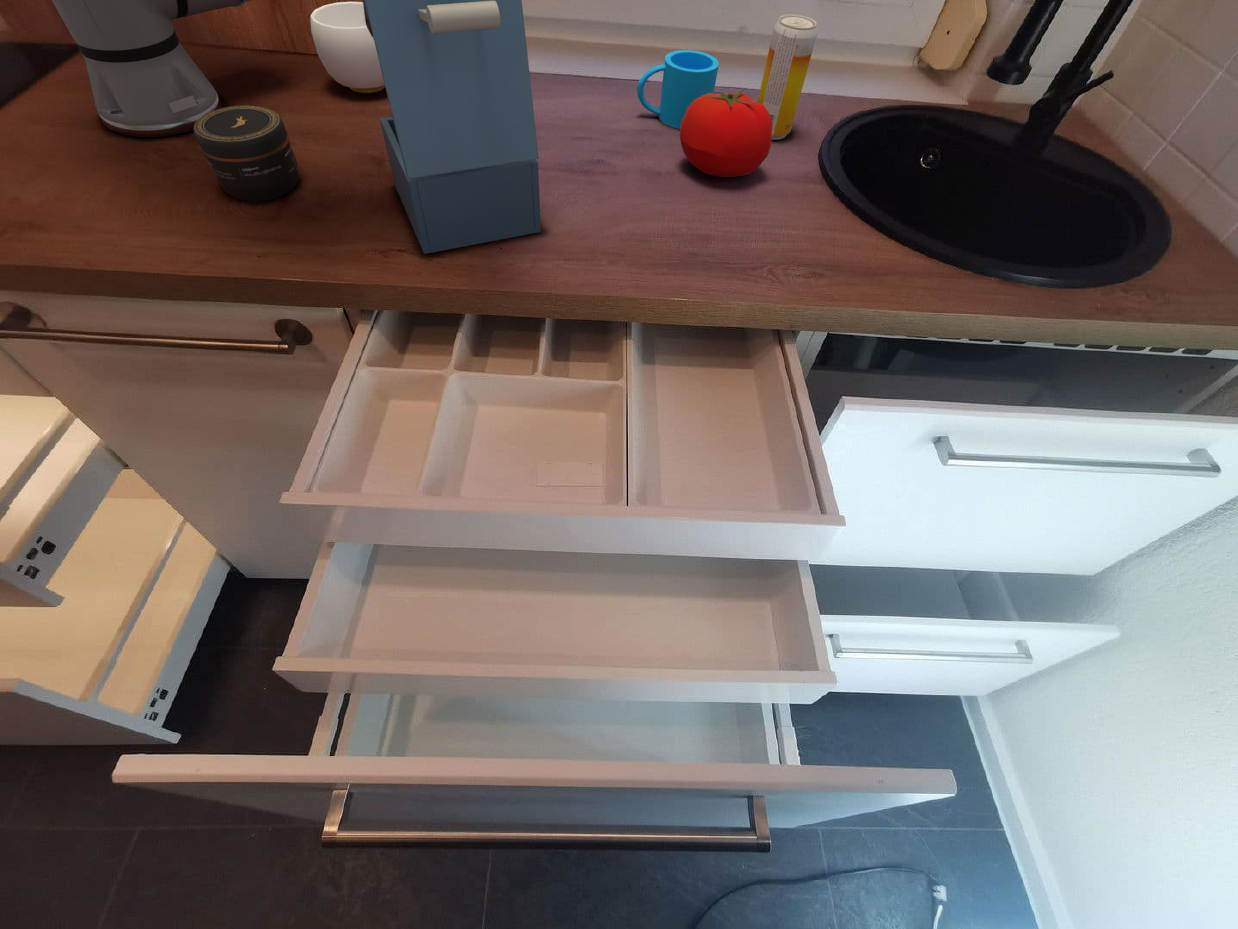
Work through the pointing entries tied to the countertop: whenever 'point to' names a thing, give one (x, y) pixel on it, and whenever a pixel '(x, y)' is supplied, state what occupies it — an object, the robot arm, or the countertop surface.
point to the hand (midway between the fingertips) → (451, 104)
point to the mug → (681, 83)
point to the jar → (248, 151)
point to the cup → (347, 46)
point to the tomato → (726, 134)
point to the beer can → (786, 70)
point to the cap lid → (456, 82)
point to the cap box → (466, 201)
